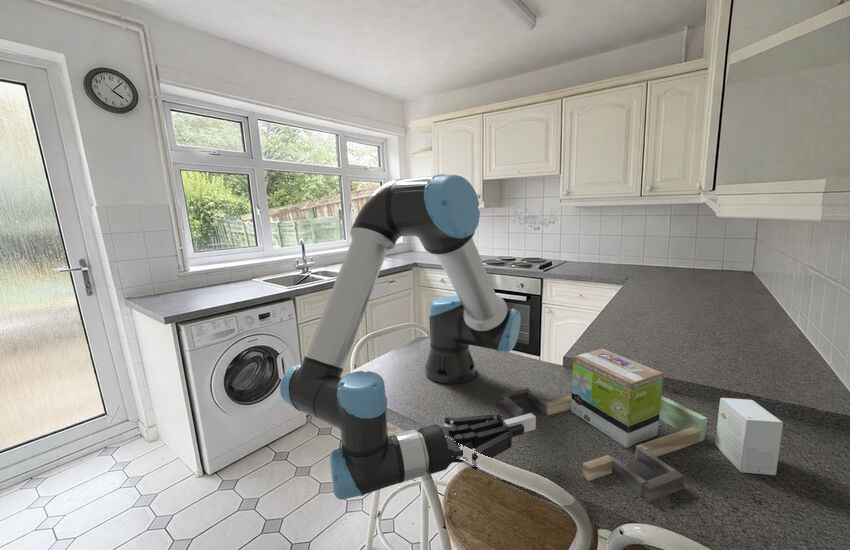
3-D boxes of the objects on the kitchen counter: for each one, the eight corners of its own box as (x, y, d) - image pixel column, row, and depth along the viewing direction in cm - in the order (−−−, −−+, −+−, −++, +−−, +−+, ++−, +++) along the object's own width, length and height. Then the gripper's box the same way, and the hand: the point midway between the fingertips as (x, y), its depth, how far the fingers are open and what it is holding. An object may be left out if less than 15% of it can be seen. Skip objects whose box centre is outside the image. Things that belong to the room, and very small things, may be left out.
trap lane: (500, 403, 89) (500, 385, 88) (596, 380, 99) (597, 364, 98) (621, 513, 56) (623, 486, 55) (746, 462, 66) (749, 438, 65)
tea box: (568, 412, 84) (571, 354, 82) (599, 402, 88) (602, 346, 86) (627, 450, 71) (632, 381, 68) (659, 436, 75) (665, 370, 72)
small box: (776, 476, 63) (785, 422, 61) (739, 473, 64) (747, 420, 62) (745, 447, 70) (752, 398, 68) (713, 444, 71) (719, 396, 70)
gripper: (410, 448, 69) (513, 420, 77) (436, 497, 57) (555, 458, 65) (409, 413, 67) (514, 388, 75) (435, 455, 55) (556, 421, 63)
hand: (533, 421), depth 70 cm, fingers closed
